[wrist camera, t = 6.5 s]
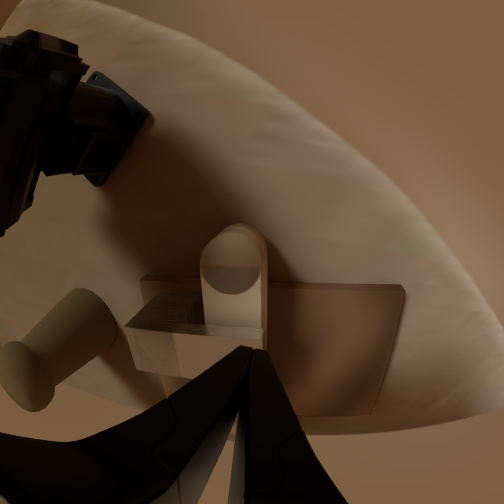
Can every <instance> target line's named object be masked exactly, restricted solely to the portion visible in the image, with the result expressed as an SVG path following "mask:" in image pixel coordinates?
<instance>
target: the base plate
mask: <svg viewBox="0 0 504 504" xmlns="http://www.w3.org/2000/svg"><path fill="white" fill-rule="evenodd" d="M140 283H141V289H142V295H143V301H144V306H145V305H146V304H147V303H148V302H149V301H150V300H151V299H152V298H153V297H154V296H155V295H156V294H158V293H159V292H160V291H173V292H196V293H202V285H201V278H188V277H172V276H157V275H146V276H144V277H143V278H142V279H141V280H140ZM404 295H405V290H404V288H403V287H402V286H401V285H393V284H329V283H294V282H267V351H268V352H269V355H270V357H271V359H272V362H273V364H274V366H275V368H276V371H277V373H278V375H279V378H280V380H281V382H282V384H283V387H284V389H285V391H286V393H287V396H288V398H289V400H290V402H291V405H292V407H293V409H294V411H295V414H296V416H357V415H371V412H372V410H373V407H374V404H375V402H376V399H377V396H378V393H379V390H380V387H381V384H382V381H383V378H384V374H385V371H386V368H387V365H388V361H389V358H390V354H391V351H392V347H393V343H394V339H395V335H396V331H397V327H398V323H399V319H400V314H401V310H402V305H403V300H404ZM202 300H203V296H202ZM203 307H204V306H203ZM160 378H161V382H162V386H163V389H164V393H165V396H166V398H168V396H169V395H171V394H172V393H174V392H175V391H177V390H178V389H180V388H181V387H183V386H184V385H185V384H187V383H188V382H190V381H191V380H193V379H190V378H183V377H176V376H170V375H164V374H160Z"/></svg>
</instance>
